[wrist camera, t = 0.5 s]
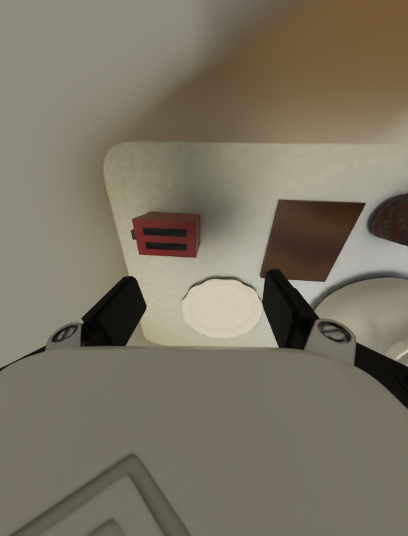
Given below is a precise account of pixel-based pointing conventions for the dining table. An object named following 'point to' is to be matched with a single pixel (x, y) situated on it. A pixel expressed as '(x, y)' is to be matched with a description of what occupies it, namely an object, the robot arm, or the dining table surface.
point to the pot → (373, 314)
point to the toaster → (167, 234)
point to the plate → (222, 308)
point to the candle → (393, 221)
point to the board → (309, 237)
